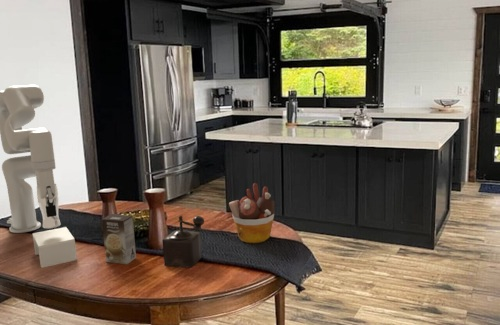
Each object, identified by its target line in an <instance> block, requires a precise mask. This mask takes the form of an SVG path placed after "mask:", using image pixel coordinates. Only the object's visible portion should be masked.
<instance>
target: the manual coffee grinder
mask: <svg viewBox="0 0 500 325" xmlns="http://www.w3.org/2000/svg"><path fill="white" fill-rule="evenodd" d="M178 222H179V229H178V230H176V229H175V230H174V231H172V232H170V233H169V234H168V235H167V236H165V237H164V238H163V239H162V242H161V243H162V250H163V264H164V266H165V267H173V268H193V267H194V266H195V265H196V264H197V263H198V262H199V261H200V260H201V258H202V257H203V255H202V254H203V252H202V240H201V238H202V237H201V232H200V231H201V230H202V226H203V225H204V224H205V218H204V217H202V216H201V215H196V216H195V217H193V219H192V222H193V223H191V222H188V221H184V219H183V215H179V216H178ZM183 224H184V225H186V226H191V227H192V228H193V230H194V231H192V230H191V231H189V230H188V229H187V230H186V229H184V228H183ZM201 256H202V257H201Z"/></svg>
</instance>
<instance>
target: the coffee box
mask: <svg viewBox="0 0 500 325" xmlns="http://www.w3.org/2000/svg"><path fill="white" fill-rule="evenodd" d="M101 225H102V232H103V233H102V234H103V235H102V236H103V243H104V253H105V262H106V263H112V264H113V263H114V264H121V265H123V264H124V265H128V264H129V263H131V262H132V261H134V260H135V259H136V258H137V254H136V252H137V251H136V242H135V230H134V229H135V228H134V217H133V215H130V214H120V213H119V214H118V213H110V214H109V215H107V216H105V217H103V218H102V219H101Z"/></svg>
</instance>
